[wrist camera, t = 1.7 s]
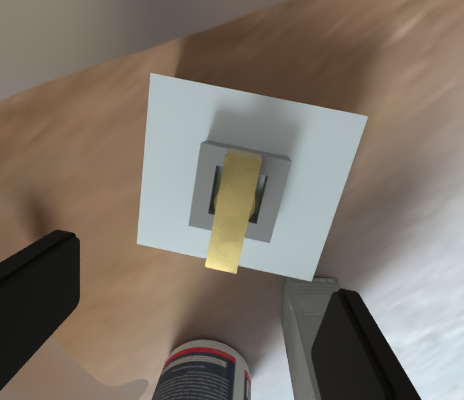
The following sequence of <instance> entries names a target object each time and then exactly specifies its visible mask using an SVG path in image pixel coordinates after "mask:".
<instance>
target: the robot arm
mask: <svg viewBox="0 0 464 400" xmlns="http://www.w3.org/2000/svg"><path fill="white" fill-rule="evenodd" d="M79 299H80V240H79V239H78V238H76V235H75V234H74V233H72V232H67V231H62V230H55V231H53V232H51V233H50V234H48V235H46V236H45V237H43V238H41V239H39V240H38V241H36V242H34V243H33V244H31V245H29V246H28V247H26V248H24V249H22V250H21V251H19V252H17V253H16V254H14V255H12V256H11V257H9V258H7V259H6V260H4V261H2V262H0V391H1V390H2V389H3V387H4V386H5V385H6V384H7V383H8V382H9V381H10V380H11V378H13V376H14V375H15V374H16V373H17V372H18V371H19V370H20V369H21V368H22V366H23V365H24V364H25V363H26V362H27V361H28V360H29V359H30V358H31V357H32V356H33V354H34V353H35V352H36V351H37V350H38V349H39V348H40V347H41V346H42V345H43V343H44V342H45V341H46V340H47V339H48V338H49V337H50V336H51V335H52V334H53V332H54V331H55V330H56V329H57V328H58V327H59V326H60V325H61V324H62V323H63V322H64V320H65V319H66V318H67V317H68V316H69V315H70V314H71V313H72V312H73V311H74V309H75V308H76V307H77V305H78V303H79ZM311 358H312V363H313V367H314V371H315V375H316V379H317V384H318V388H319V392H320V396H321V400H421V398H420V396H419V395H418V393H417V391H416V390H415V388H414V386H413V385H412V383H411V381H410V379H409V378H408V376H407V374H406V373H405V371H404V369H403V368H402V366H401V364H400V363H399V361H398V359H397V357H396V356H395V354H394V352H393V351H392V349H391V347H390V346H389V344H388V342H387V341H386V339H385V337H384V336H383V334H382V332H381V330H380V329H379V327H378V325H377V324H376V322H375V320H374V319H373V317H372V315H371V314H370V312H369V310H368V308H367V307H366V305H365V303H364V302H363V300H362V298H361V297H360V295H359V294H358V292H356V291H351V290H346V289H339V290H338V291H337V292H336V291H334V292H333V293H332V295H331V298H330V300H329V303H328V306H327V308H326V311H325V314H324V316H323V319H322V322H321V324H320V327H319V329H318V332H317V335H316V337H315V340H314V343H313V345H312V349H311Z"/></svg>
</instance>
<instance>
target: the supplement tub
mask: <svg viewBox="0 0 464 400" xmlns="http://www.w3.org/2000/svg"><path fill="white" fill-rule="evenodd" d="M152 400H251V374H250V371H249V368H248V365H247V363H246V362H245V360H244V359H243V357H242V356H241V355H240V354H239V353H238V352H237V351H235V350H234V349H233V348H231V347H229V346H227V345H225V344H223V343H220V342H217V341H213V340H194V341H190V342H187V343H185V344H182V345H181V346H179V347H177V348H176V349H175V350H174V351H173V352H172V353H171V354H170V355H169V357H168V358H167V360H166V361H165V364H164V367H163V370H162V373H161V375H160V378H159V381H158V384H157V386H156V389H155V392H154V394H153V397H152Z"/></svg>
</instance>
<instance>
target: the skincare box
mask: <svg viewBox="0 0 464 400" xmlns="http://www.w3.org/2000/svg"><path fill="white" fill-rule="evenodd" d="M339 289H341V288H340V286H339V284H338V282H337V281H336V279H335V278H313V279H312V282H311V281H306V280H302V279H297V278H292V277H288V276H286V277H285V284H284V292H283V303H282V329H283V335H284V341H285V346H286V353H287V358H288V364H289V370H290V376H291V382H292V388H293V394H294V400H321V396H320V392H319V388H318V384H317V379H316V375H315V371H314V367H313V363H312V358H311V349H312V345H313V343H314V340H315V337H316V335H317V332H318V329H319V327H320V324H321V322H322V319H323V316H324V314H325V311H326V308H327V306H328V303H329V300H330V298H331V295H332V293H333V292H334V291H336V292H337V291H338V290H339Z"/></svg>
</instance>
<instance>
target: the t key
mask: <svg viewBox="0 0 464 400" xmlns="http://www.w3.org/2000/svg"><path fill="white" fill-rule="evenodd" d="M261 164H262V154H257V153H252V152H247V151H242V150H237V149H232V148H229V150H228V151H227V152H226V155H225V160H224V166H223V171H222V177H221V182H220V188H219V191H218V193H217V195H216V198H215V201H214V208H215V215H214V221H213V226H212V232H211V237H210V243H209V248H208V254H207V259H206V265H205V267H208V268H212V269H217V270H222V271H226V272H231V273H235V274H236V273H237V268H238V264H239V260H240V255H241V251H242V246H243V242H244V238H245V233H246V229H247V225H248V220H249V219H250V218H251V217H252V215H253V213H254V210H255V190H256V185H257V181H258V177H259V172H260V168H261Z"/></svg>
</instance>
